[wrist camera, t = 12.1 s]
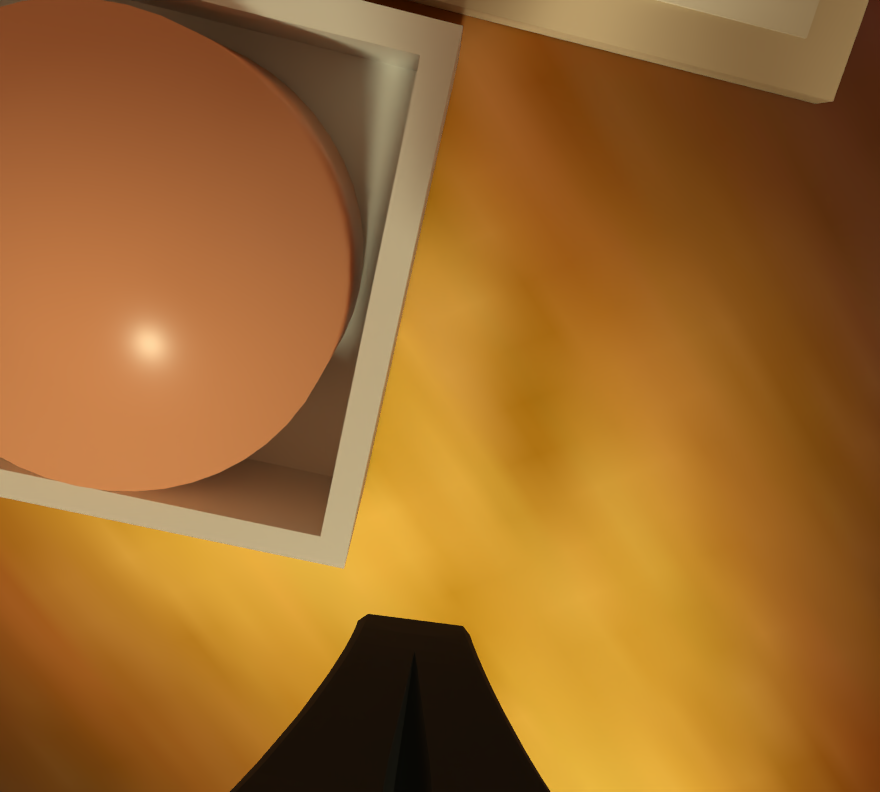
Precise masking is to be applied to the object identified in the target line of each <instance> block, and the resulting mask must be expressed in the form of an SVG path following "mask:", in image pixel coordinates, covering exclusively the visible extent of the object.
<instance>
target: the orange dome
mask: <svg viewBox="0 0 880 792" xmlns="http://www.w3.org/2000/svg"><path fill="white" fill-rule="evenodd" d="M362 270H363V231H362V223H361V215H360V209H359V206H358V202H357V198H356V194H355V190H354V186H353V183H352V181H351V178H350V176H349V173H348V171H347V168H346V166H345V163H344V161H343V159H342V157H341V155H340V153H339V151H338V150H337V148H336V146H335V144H334V142H333V141H332V139H331V137H330V135H329V134H328V132H327V131H326V130H325V128H324V127H323V125H322V124H321V123H320V121H319V120H318V119H317V117H316V116H315V114H314V113H313V112H312V111H311V110H310V109H309V108H308V106H307V105H306V104H305V103H304V102H303V101H302V100H301V99H300V98H299V97H298V96H297V95H296V94H295V92H294V91H292V90H291V89H290V88H289V87H288V86H286V85H285V84H284V83H283V82H282V81H280V80H279V79H278V78H277V77H276V76H274V75H273V74H272V73H271V72H269V71H268V70H266V69H264V68H263V67H261V66H260V65H258V64H257V63H255V62H253V61H252V60H250V59H249V58H247V57H245V56H243V55H241V54H239V53H237V52H235V51H233V50H231V49H229V48H227V47H225V46H223V45H221V44H219V43H217V42H215V41H213V40H211V39H209V38H207V37H205V36H203V35H201V34H199V33H197V32H195V31H193V30H191V29H189V28H186V27H184V26H182V25H180V24H178V23H176V22H174V21H172V20H170V19H167V18H165V17H163V16H161V15H158V14H155V13H152V12H149V11H145V10H142V9H139V8H136V7H133V6H130V5H127V4H121V3H115V2H110V1H104V0H27V1H21V2H17V3H13V4H10V5H6V6H2V7H0V457H1V458H3V459H5V460H7V461H9V462H11V463H13V464H14V465H16V466H18V467H21V468H23V469H26V470H28V471H31V472H33V473H36V474H38V475H41V476H43V477H46V478H49V479H52V480H56V481H60V482H63V483H67V484H71V485H75V486H80V487H86V488H93V489H99V490H106V491H145V490H157V489H166V488H170V487H175V486H179V485H184V484H188V483H193V482H195V481H198V480H201V479H204V478H206V477H209V476H212V475H215V474H218V473H220V472H222V471H224V470H226V469H227V468H229V467H231V466H233V465H235V464H237V463H239V462H241V461H243V460H244V459H246V458H247V457H249V456H250V455H252V454H253V453H254V452H256V451H257V450H259V449H260V448H261V447H263V446H264V445H266V444H267V443H268V442H269V441H270V440H271V439H272V438H273V437H274V436H276V435H277V434H278V433H279V432H280V431H281V430H282V429H283V428H284V427H285V426H286V425H287V424H288V423H289V422H290V420H291V419H292V418H293V417H294V415H295V414H296V413H297V412H298V410H299V409H300V408H301V407H302V406H303V404H304V403H305V402H306V400H307V398H308V397H309V395H310V393H311V391H312V390H313V388H314V386H315V385H316V383H317V381H318V380H319V378H320V376H321V375H322V373H323V371H324V369H325V368H326V366H327V364H328V362H329V361H330V359H331V357H332V355H333V354H334V352H335V350H336V348H337V347H338V345H339V343H340V341H341V340H342V338H343V336H344V334H345V332H346V329H347V327H348V325H349V322H350V320H351V318H352V315H353V313H354V309H355V306H356V302H357V298H358V295H359V291H360V285H361V278H362Z"/></svg>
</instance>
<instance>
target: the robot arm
mask: <svg viewBox="0 0 880 792" xmlns="http://www.w3.org/2000/svg"><path fill="white" fill-rule="evenodd" d="M230 792H550V790H549V789H548V787H547V786H546V784H545V782H544V781H543V779H542V778H541V776H540V775H539V773H538V771H537V770H536V768H535V766H534V765H533V763H532V761H531V760H530V758H529V756H528V755H527V753H526V751H525V749H524V748H523V746H522V744H521V742H520V740H519V739H518V737H517V735H516V733H515V731H514V729H513V728H512V726H511V724H510V722H509V720H508V719H507V717H506V715H505V713H504V711H503V709H502V707H501V705H500V703H499V701H498V699H497V697H496V695H495V693H494V691H493V689H492V687H491V685H490V683H489V681H488V678H487V676H486V674H485V672H484V670H483V667H482V665H481V663H480V660H479V658H478V656H477V653H476V651H475V648H474V646H473V643H472V640H471V637H470V635H469V633H468V632H467V631H466V630H465V628H464V627H463V626H458V625H450V624H443V623H435V622H427V621H419V620H411V619H403V618H396V617H388V616H380V615H372V614H367V615H366V616H364V617H363V618H361V619H360V620H358V622H357V625H356V628H355V630H354V632H353V634H352V636H351V638H350V640H349V642H348V643H347V645H346V647H345V649H344V650H343V652H342V654H341V655H340V657H339V658H338V660H337V661H336V663H335V665H334V666H333V668H332V669H331V671H330V672H329V674H328V675H327V677H326V678H325V679H324V681H323V682H322V683H321V685H320V686H319V687H318V689H317V690H316V692H315V693H314V694H313V696H312V697H311V698H310V700H309V701H308V702H307V704H306V705H305V706H304V708H303V709H302V711H301V712H300V713H299V714H298V716H297V717H296V718H295V719H294V721H293V722H292V723H291V724H290V725H289V726H288V728H287V729H286V730H285V731H284V732H283V733H282V735H281V736H280V737H279V738H278V739H277V740H276V742H275V743H274V744H273V745H272V746H271V747H270V749H269V750H268V751H267V752H266V753H265V754H264V756H263V757H262V758H261V759H260V760H259V761H258V762H257V764H256V765H255V766H254V767H253V768H252V769H251V770H250V771H249V772H248V773H247V774H246V775H245V776H244V777H243V779H242V780H241V781H240V782H239V783H238V784H237V785H236V786H235V787H234V788H233V789H232V790H231V791H230Z"/></svg>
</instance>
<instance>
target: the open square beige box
mask: <svg viewBox="0 0 880 792" xmlns="http://www.w3.org/2000/svg"><path fill="white" fill-rule="evenodd" d="M21 1H27V0H0V7H2V6H6V5H10V4H13V3H17V2H21ZM104 1H110V2H115V3H121V4H127V5H130V6H133V7H136V8H139V9H142V10H145V11H149V12H152V13H155V14H158V15H161V16H163V17H165V18H167V19H170V20H172V21H174V22H176V23H178V24H180V25H182V26H184V27H186V28H189V29H191V30H193V31H195V32H197V33H199V34H201V35H203V36H205V37H207V38H209V39H211V40H213V41H215V42H217V43H219V44H221V45H223V46H225V47H227V48H229V49H231V50H233V51H235V52H237V53H239V54H241V55H243V56H245V57H247V58H249V59H250V60H252V61H253V62H255V63H257V64H258V65H260V66H261V67H263V68H264V69H266V70H268V71H269V72H271V73H272V74H273V75H274V76H276V77H277V78H278V79H279V80H280V81H282V82H283V83H284V84H285V85H286V86H288V87H289V88H290V89H291V90H292V91H294V92H295V94H296V95H297V96H298V97H299V98H300V99H301V100H302V101H303V102H304V103H305V104H306V105H307V106H308V108H309V109H310V110H311V111H312V112H313V113H314V114H315V116H316V117H317V119H318V120H319V121H320V123H321V124H322V125H323V127H324V128H325V130H326V131H327V132H328V134H329V135H330V137H331V139H332V141H333V142H334V144H335V146H336V148H337V150H338V151H339V153H340V155H341V157H342V159H343V161H344V163H345V166H346V168H347V171H348V173H349V176H350V178H351V181H352V183H353V186H354V190H355V194H356V198H357V202H358V206H359V209H360V215H361V223H362V231H363V270H362V278H361V285H360V291H359V295H358V298H357V302H356V306H355V309H354V313H353V315H352V318H351V320H350V322H349V325H348V327H347V329H346V332H345V334H344V336H343V338H342V340H341V341H340V343H339V345H338V347H337V348H336V350H335V352H334V354H333V355H332V357H331V359H330V361H329V362H328V364H327V366H326V368H325V369H324V371H323V373H322V375H321V376H320V378H319V380H318V381H317V383H316V385H315V386H314V388H313V390H312V391H311V393H310V395H309V397H308V398H307V400H306V402H305V403H304V404H303V406H302V407H301V408H300V409H299V410H298V412H297V413H296V414H295V415H294V417H293V418H292V419H291V420H290V422H289V423H288V424H287V425H286V426H285V427H284V428H283V429H282V430H281V431H280V432H279V433H278V434H277V435H276V436H274V437H273V438H272V439H271V440H270V441H269V442H268V443H267V444H266V445H264V446H263V447H261V448H260V449H259V450H257V451H256V452H254V453H253V454H252V455H250V456H249V457H247V458H246V459H244V460H243V461H241V462H239V463H237V464H235V465H233V466H231V467H229V468H227V469H226V470H224V471H222V472H220V473H218V474H215V475H212V476H209V477H206V478H204V479H201V480H198V481H195V482H193V483H188V484H184V485H179V486H175V487H170V488H166V489H157V490H145V491H106V490H99V489H93V488H86V487H80V486H75V485H71V484H67V483H63V482H60V481H56V480H52V479H49V478H46V477H43V476H41V475H38V474H36V473H33V472H31V471H28V470H26V469H23V468H21V467H18V466H16V465H14V464H13V463H11V462H9V461H7V460H5V459H3V458H1V457H0V497H4V498H9V499H13V500H18V501H23V502H28V503H32V504H37V505H42V506H47V507H52V508H56V509H61V510H66V511H71V512H76V513H80V514H85V515H90V516H95V517H100V518H104V519H109V520H114V521H119V522H123V523H128V524H133V525H138V526H143V527H147V528H152V529H157V530H162V531H167V532H171V533H176V534H181V535H186V536H191V537H195V538H200V539H205V540H210V541H214V542H219V543H224V544H229V545H234V546H238V547H243V548H248V549H253V550H258V551H262V552H267V553H272V554H277V555H281V556H286V557H291V558H296V559H301V560H305V561H310V562H315V563H320V564H325V565H329V566H334V567H339V568H344V567H345V563H346V559H347V555H348V550H349V546H350V542H351V538H352V534H353V530H354V526H355V522H356V518H357V514H358V510H359V506H360V502H361V498H362V494H363V490H364V485H365V481H366V476H367V472H368V467H369V463H370V458H371V454H372V449H373V445H374V440H375V435H376V431H377V426H378V422H379V417H380V413H381V408H382V404H383V399H384V395H385V390H386V386H387V381H388V377H389V372H390V367H391V363H392V358H393V354H394V349H395V345H396V340H397V336H398V331H399V327H400V322H401V318H402V313H403V308H404V304H405V299H406V295H407V290H408V286H409V281H410V277H411V272H412V268H413V263H414V259H415V254H416V249H417V245H418V240H419V236H420V231H421V227H422V222H423V218H424V213H425V209H426V204H427V200H428V195H429V191H430V186H431V181H432V177H433V172H434V168H435V163H436V159H437V154H438V150H439V145H440V141H441V136H442V132H443V127H444V122H445V118H446V113H447V109H448V104H449V100H450V95H451V91H452V86H453V82H454V77H455V73H456V68H457V63H458V59H459V54H460V46H461V39H462V31H463V26H462V25H458V24H454V23H450V22H446V21H442V20H438V19H434V18H430V17H426V16H422V15H418V14H414V13H410V12H406V11H402V10H398V9H394V8H390V7H386V6H382V5H379V4H375V3H371V2H367V1H363V0H104Z"/></svg>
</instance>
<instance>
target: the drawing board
mask: <svg viewBox="0 0 880 792" xmlns="http://www.w3.org/2000/svg"><path fill="white" fill-rule="evenodd" d="M408 1H412V2H416V3H420V4H424V5H428V6H432V7H436V8H440V9H444V10H448V11H452V12H456V13H460V14H464V15H468V16H472V17H475V18H479V19H483V20H487V21H491V22H495V23H499V24H503V25H507V26H511V27H515V28H519V29H523V30H527V31H531V32H535V33H539V34H543V35H547V36H550V37H554V38H558V39H562V40H566V41H570V42H574V43H578V44H582V45H586V46H590V47H594V48H598V49H602V50H606V51H610V52H614V53H618V54H621V55H625V56H629V57H633V58H637V59H641V60H645V61H649V62H653V63H657V64H661V65H665V66H669V67H673V68H677V69H681V70H685V71H689V72H693V73H696V74H700V75H704V76H708V77H712V78H716V79H720V80H724V81H728V82H732V83H736V84H740V85H744V86H748V87H752V88H756V89H760V90H764V91H767V92H771V93H775V94H779V95H783V96H787V97H791V98H795V99H799V100H803V101H807V102H811V103H815V104H817V103H824V102H831V101H833V100H834V97H835V94H836V91H837V89H838V86H839V83H840V80H841V77H842V74H843V72H844V69H845V66H846V63H847V60H848V57H849V55H850V52H851V49H852V46H853V43H854V41H855V38H856V35H857V32H858V29H859V26H860V24H861V21H862V18H863V15H864V12H865V10H866V7H867V4H868V1H869V0H408Z"/></svg>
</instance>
